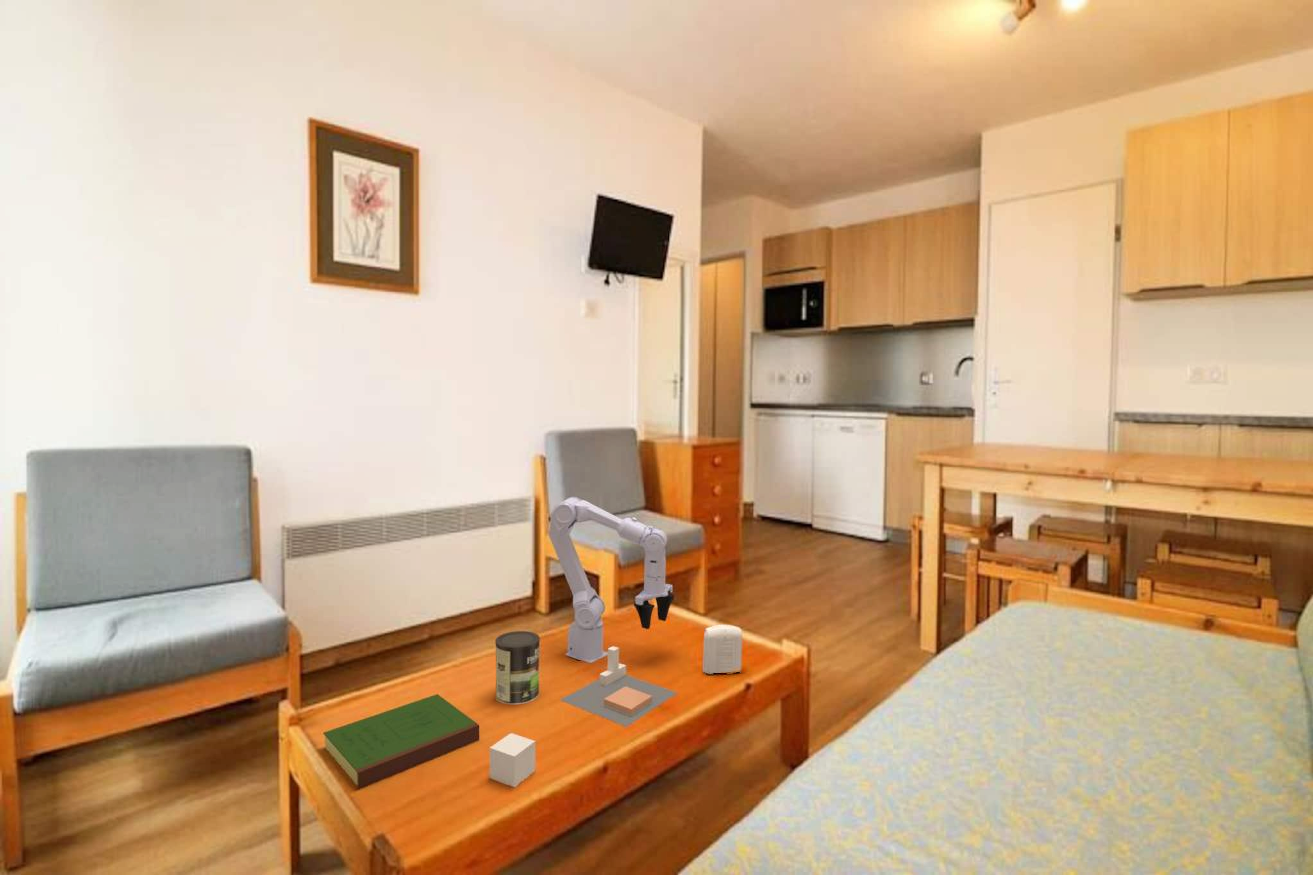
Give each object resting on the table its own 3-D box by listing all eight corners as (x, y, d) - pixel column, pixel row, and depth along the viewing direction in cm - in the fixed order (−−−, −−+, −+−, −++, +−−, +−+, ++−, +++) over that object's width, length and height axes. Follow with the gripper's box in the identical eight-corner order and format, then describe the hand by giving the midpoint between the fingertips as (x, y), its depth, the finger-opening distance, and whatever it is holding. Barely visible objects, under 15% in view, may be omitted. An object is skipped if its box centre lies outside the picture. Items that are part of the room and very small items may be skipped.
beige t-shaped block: (599, 683, 158) (599, 652, 158) (619, 672, 165) (620, 642, 164) (605, 686, 157) (606, 654, 156) (625, 674, 163) (626, 644, 163)
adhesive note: (510, 762, 125) (511, 732, 125) (535, 771, 122) (535, 740, 122) (489, 778, 120) (489, 747, 119) (514, 787, 117) (514, 756, 117)
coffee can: (545, 688, 156) (546, 632, 155) (529, 708, 146) (529, 648, 145) (506, 684, 158) (506, 628, 157) (487, 703, 148) (487, 644, 147)
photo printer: (738, 667, 170) (740, 622, 170) (743, 674, 166) (744, 627, 165) (701, 668, 169) (702, 623, 168) (704, 675, 165) (705, 629, 164)
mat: (559, 701, 150) (559, 699, 150) (613, 672, 166) (613, 670, 166) (626, 728, 138) (626, 726, 138) (677, 694, 154) (677, 692, 154)
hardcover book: (358, 792, 116) (358, 772, 115) (323, 750, 129) (323, 732, 129) (482, 740, 133) (482, 723, 133) (440, 708, 146) (440, 692, 146)
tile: (603, 698, 147) (631, 709, 142) (625, 686, 153) (652, 695, 149) (603, 705, 147) (631, 716, 142) (625, 693, 153) (652, 702, 149)
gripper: (650, 583, 163) (650, 635, 164) (682, 571, 175) (681, 619, 176) (629, 578, 168) (628, 629, 168) (661, 567, 179) (660, 614, 180)
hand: (654, 623), depth 173 cm, fingers open, 7 cm apart
